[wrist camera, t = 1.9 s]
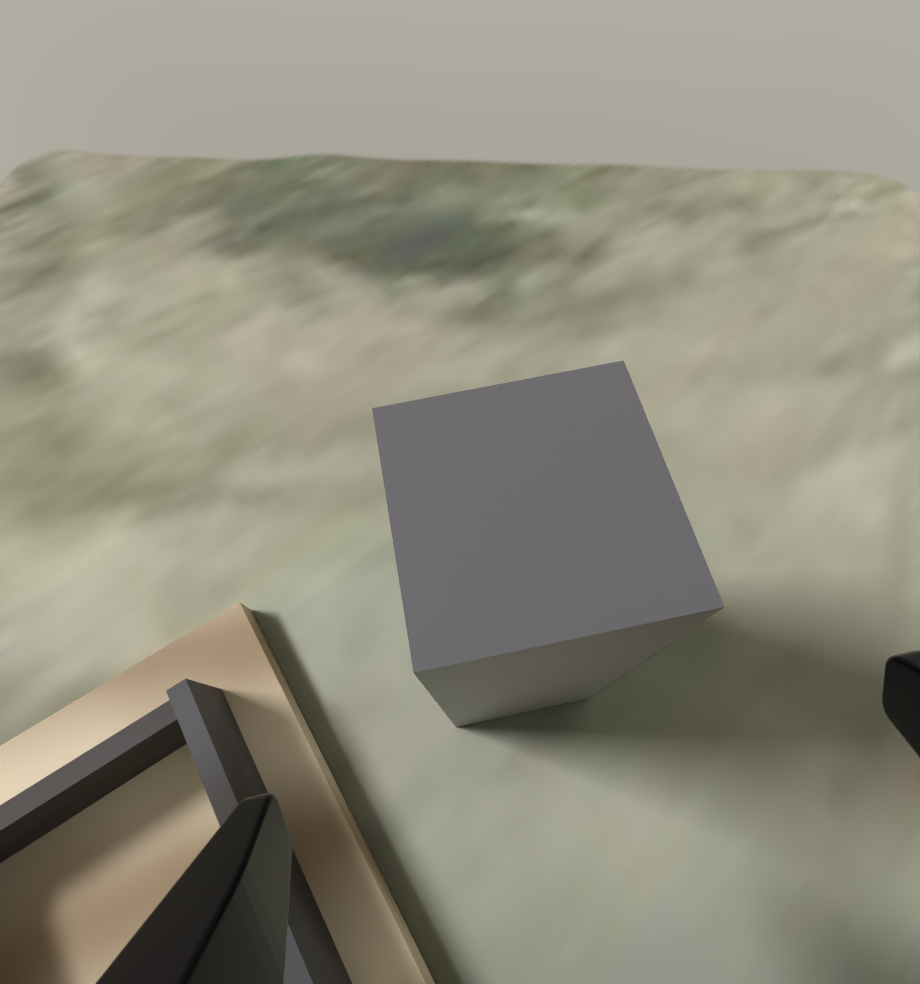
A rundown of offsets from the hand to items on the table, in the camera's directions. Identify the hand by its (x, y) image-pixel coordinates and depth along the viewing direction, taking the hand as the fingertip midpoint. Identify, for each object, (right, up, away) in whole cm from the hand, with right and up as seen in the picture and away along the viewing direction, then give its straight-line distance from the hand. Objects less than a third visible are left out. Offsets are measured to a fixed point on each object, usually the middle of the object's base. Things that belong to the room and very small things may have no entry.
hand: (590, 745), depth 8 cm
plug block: (0, -2, +12) cm, 12 cm away
